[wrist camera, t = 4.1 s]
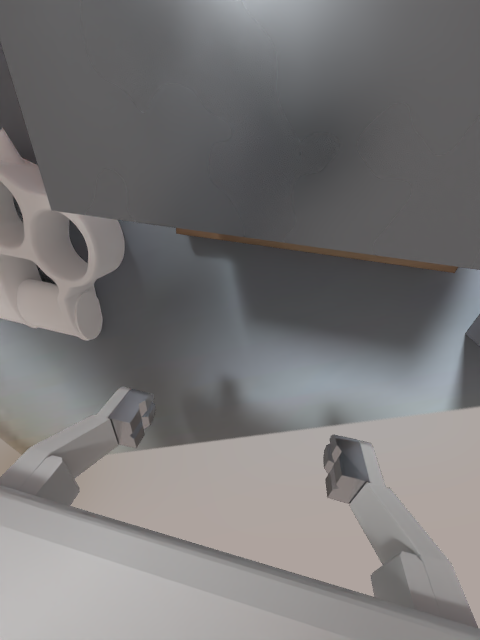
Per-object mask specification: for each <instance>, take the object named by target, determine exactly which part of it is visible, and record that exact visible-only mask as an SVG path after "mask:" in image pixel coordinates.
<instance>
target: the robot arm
mask: <svg viewBox="0 0 480 640" xmlns="http://www.w3.org/2000/svg"><path fill="white" fill-rule="evenodd" d="M153 400H154V395H153V394H151V393H147V392H143V391H139V390H135V389H131V388H127V387H120V388H119V389H118V390H117V391H116V392H115V393H114V394H113V396H112V397H111V398H110V399H109V400H108V401H107V403H106V404H105V405H104V406H103V407H102V409H101V410H100V411H99V412H98V413H97V414H96V415H91V416H89V417H87V418H85V419H84V420H82V421H80V422H78V423H76V424H74V425H72V426H70V427H68V428H66V429H64V430H62V431H61V432H59V433H57V434H55V435H53V436H51V437H49V438H47V439H45V440H43V441H41V442H39V443H37V444H36V445H34V446H32V447H30V448H29V449H28V450H27V451H26V452H25V453H24V454H23V455H22V456H21V457H20V458H19V459H18V460H17V461H16V462H15V463H14V464H13V465H12V466H11V467H10V468H9V469H8V470H7V471H6V472H5V473H4V474H3V475H2V476H1V477H0V640H480V629H479V628H478V626H477V624H476V621H475V619H474V617H473V614H472V612H471V609H470V607H469V604H468V602H467V600H466V597H465V595H464V592H463V590H462V588H461V585H460V583H459V580H458V578H457V576H456V573H455V571H454V568H453V566H452V564H451V562H450V561H449V560H448V559H447V558H446V556H445V555H444V554H443V553H442V551H441V550H440V549H439V548H438V547H437V545H436V544H435V543H434V542H433V540H432V539H431V538H430V537H429V535H428V534H427V533H426V532H425V530H424V529H423V528H422V527H421V526H420V524H419V523H418V522H417V521H416V520H415V518H414V517H413V516H412V515H411V513H410V512H409V511H408V510H407V508H406V507H405V506H404V505H403V504H402V502H401V501H400V500H399V499H398V497H397V496H396V495H395V494H394V493H393V491H392V490H391V489H390V488H388V487H386V486H385V483H384V480H383V477H382V474H381V470H380V467H379V464H378V461H377V457H376V454H375V451H374V448H373V446H372V444H371V443H369V442H364V441H359V440H356V439H352V438H347V437H343V436H338V435H332V436H331V438H330V444H328V445H326V448H325V450H324V469H325V470H326V472H327V473H328V476H327V478H326V488H327V497H328V498H331V499H334V500H337V501H341V502H344V503H348V504H349V506H350V508H351V509H352V511H353V513H354V515H355V517H356V518H357V520H358V522H359V524H360V525H361V527H362V529H363V531H364V533H365V534H366V536H367V538H368V540H369V541H370V543H371V545H372V547H373V548H374V550H375V552H376V554H377V555H378V557H379V559H380V561H381V563H382V564H383V566H381V567H380V568H379V569H377V570H376V571H374V572H373V573H372V575H371V581H372V586H373V592H374V597H372V596H369V595H366V594H362V593H359V592H356V591H352V590H349V589H346V588H342V587H339V586H335V585H332V584H329V583H325V582H322V581H319V580H315V579H312V578H309V577H305V576H302V575H299V574H295V573H292V572H288V571H285V570H282V569H279V568H275V567H272V566H268V565H265V564H262V563H259V562H255V561H252V560H249V559H245V558H242V557H239V556H235V555H232V554H229V553H225V552H222V551H219V550H215V549H212V548H209V547H205V546H202V545H199V544H195V543H192V542H189V541H185V540H182V539H179V538H175V537H172V536H168V535H165V534H162V533H158V532H155V531H152V530H149V529H145V528H142V527H139V526H135V525H132V524H128V523H125V522H122V521H118V520H115V519H112V518H108V517H105V516H102V515H98V514H95V513H91V512H88V511H85V510H82V509H78V508H75V507H72V506H70V505H71V504H72V502H73V500H74V499H75V498H76V496H77V495H78V493H79V486H78V485H77V483H76V481H75V478H76V477H77V476H79V475H80V474H81V473H82V472H84V471H85V470H86V469H88V468H89V467H90V466H92V465H93V464H94V463H96V462H97V461H98V460H100V459H101V458H102V457H104V456H105V455H106V454H108V453H109V452H110V451H112V450H113V449H114V448H116V447H117V446H118V444H120V445H124V446H129V447H133V448H137V446H138V445H139V443H140V441H141V440H142V438H143V436H144V429H145V428H147V427H148V426H150V424H151V422H152V421H153V418H154V415H155V411H156V407H155V404H154V403H153Z"/></svg>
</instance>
